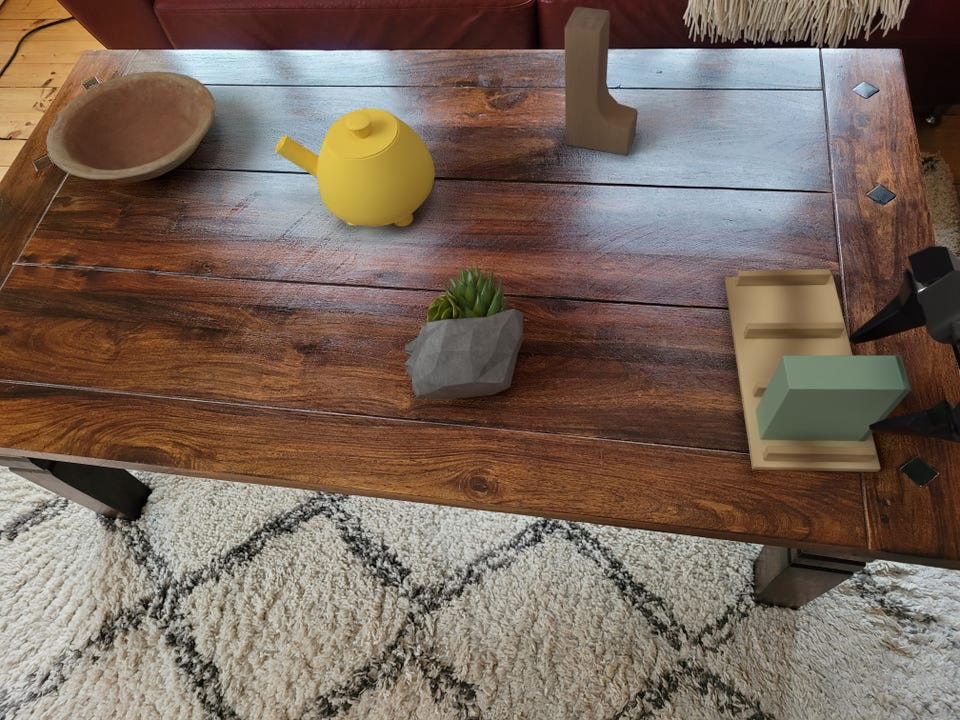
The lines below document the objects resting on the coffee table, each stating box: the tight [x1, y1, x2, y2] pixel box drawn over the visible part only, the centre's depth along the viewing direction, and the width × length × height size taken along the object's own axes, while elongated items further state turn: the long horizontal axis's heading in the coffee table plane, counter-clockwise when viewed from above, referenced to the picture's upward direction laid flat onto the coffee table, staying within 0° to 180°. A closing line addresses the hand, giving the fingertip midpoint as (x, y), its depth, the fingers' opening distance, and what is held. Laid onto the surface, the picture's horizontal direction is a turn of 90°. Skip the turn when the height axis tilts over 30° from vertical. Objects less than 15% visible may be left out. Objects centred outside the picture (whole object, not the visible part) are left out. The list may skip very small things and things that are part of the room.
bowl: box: [46, 71, 216, 183], centre depth 101 cm, size 24×24×8 cm
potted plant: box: [403, 263, 524, 401], centre depth 75 cm, size 12×13×15 cm
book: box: [756, 354, 912, 442], centre depth 66 cm, size 10×4×11 cm, turn 86°
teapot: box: [274, 107, 436, 227], centre depth 89 cm, size 20×16×14 cm
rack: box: [724, 268, 881, 473], centre depth 74 cm, size 12×24×3 cm, turn 176°
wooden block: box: [564, 6, 639, 156], centre depth 89 cm, size 9×4×18 cm, turn 69°
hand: (860, 383), depth 63 cm, fingers open, 9 cm apart
